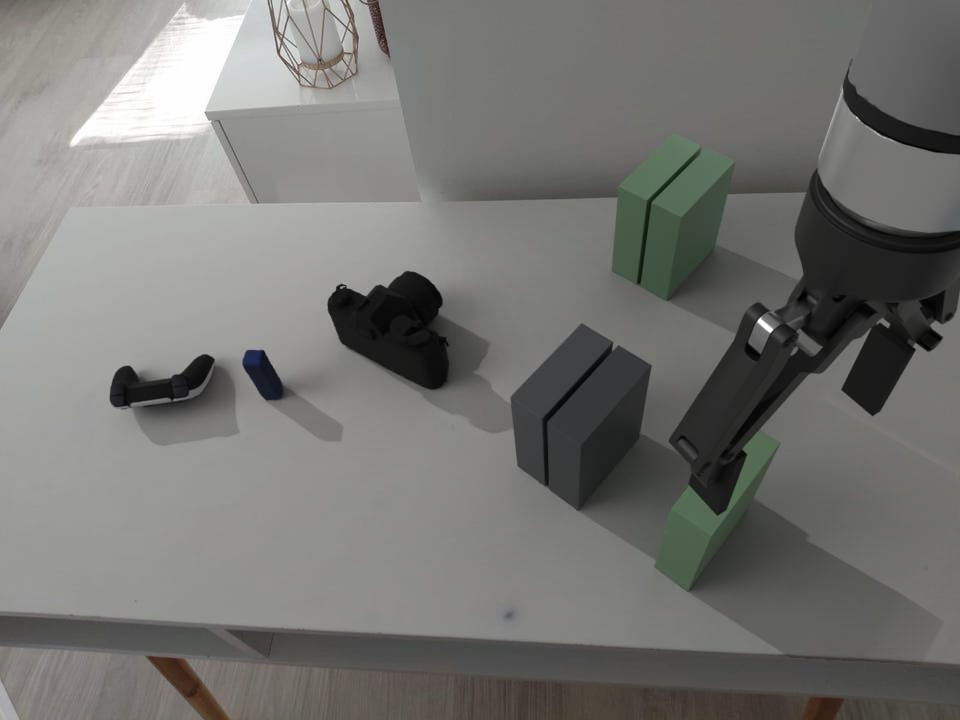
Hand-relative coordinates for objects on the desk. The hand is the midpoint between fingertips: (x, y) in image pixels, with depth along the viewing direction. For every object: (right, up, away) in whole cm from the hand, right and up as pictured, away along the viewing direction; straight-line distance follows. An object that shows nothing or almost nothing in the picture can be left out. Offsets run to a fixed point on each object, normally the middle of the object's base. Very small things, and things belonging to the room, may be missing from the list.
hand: (786, 447), depth 50 cm
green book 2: (+3, +16, +37) cm, 41 cm away
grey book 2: (-9, -4, +24) cm, 26 cm away
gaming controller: (-55, +2, +34) cm, 64 cm away
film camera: (-29, +8, +35) cm, 46 cm away
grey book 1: (-12, -2, +26) cm, 29 cm away
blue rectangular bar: (-43, +2, +33) cm, 54 cm away
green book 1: (0, +19, +39) cm, 43 cm away
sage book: (0, -10, +19) cm, 22 cm away
